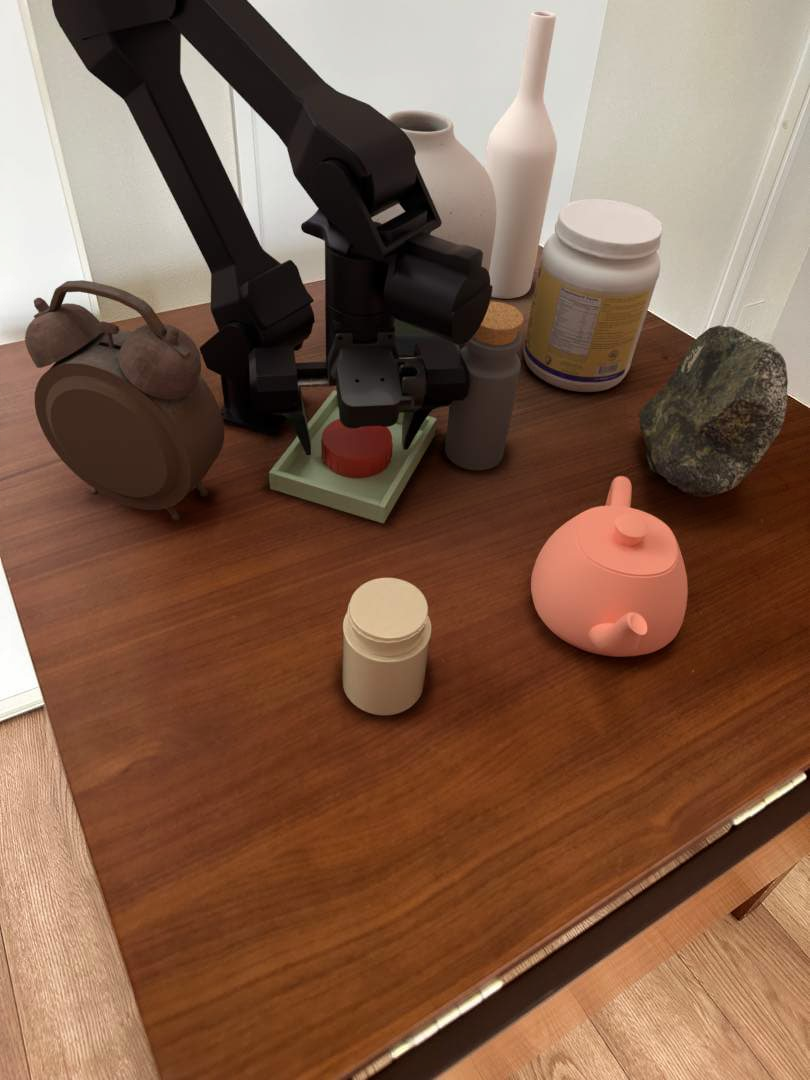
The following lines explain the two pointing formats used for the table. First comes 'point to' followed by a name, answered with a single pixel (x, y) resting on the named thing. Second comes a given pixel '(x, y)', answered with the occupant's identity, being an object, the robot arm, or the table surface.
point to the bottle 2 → (522, 168)
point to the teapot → (612, 579)
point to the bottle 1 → (486, 391)
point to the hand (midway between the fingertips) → (357, 449)
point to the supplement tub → (592, 294)
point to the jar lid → (356, 449)
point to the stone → (716, 412)
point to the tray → (344, 493)
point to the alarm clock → (124, 400)
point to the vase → (446, 198)
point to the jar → (385, 646)
